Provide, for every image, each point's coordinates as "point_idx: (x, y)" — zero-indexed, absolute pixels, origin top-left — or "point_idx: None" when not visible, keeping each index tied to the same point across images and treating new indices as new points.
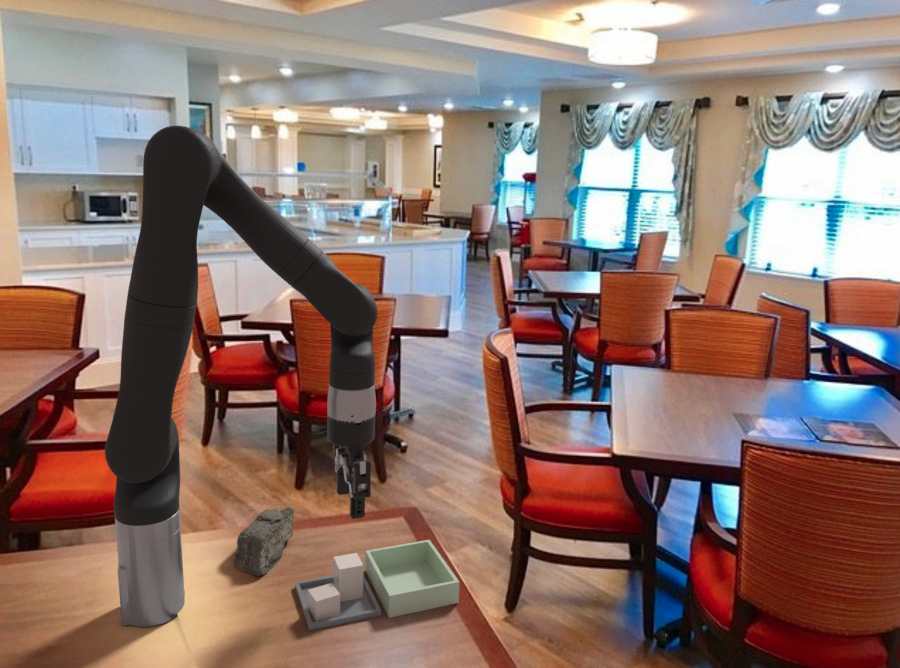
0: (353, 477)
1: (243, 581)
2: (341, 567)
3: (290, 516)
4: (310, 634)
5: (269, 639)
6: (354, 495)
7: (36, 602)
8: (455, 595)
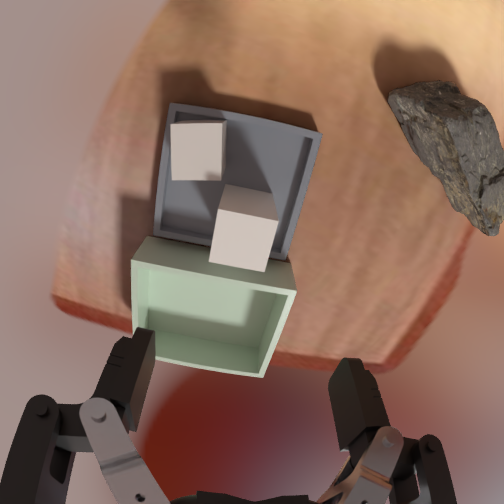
0: (31, 489)
1: (397, 70)
2: (224, 217)
3: (478, 221)
4: None
5: (198, 37)
6: (35, 409)
7: None
8: None
